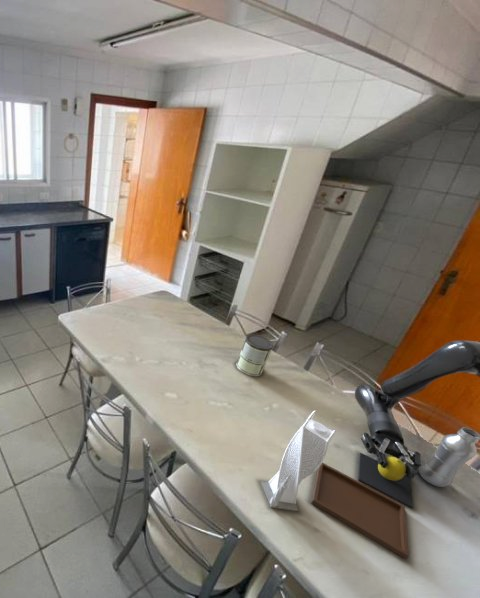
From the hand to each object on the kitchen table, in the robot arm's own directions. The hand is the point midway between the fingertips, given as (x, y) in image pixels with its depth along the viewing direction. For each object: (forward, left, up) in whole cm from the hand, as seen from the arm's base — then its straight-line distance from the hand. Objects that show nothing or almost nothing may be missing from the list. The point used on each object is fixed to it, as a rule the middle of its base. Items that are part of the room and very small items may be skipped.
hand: (397, 470), depth 92 cm
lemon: (0, -3, -6) cm, 7 cm away
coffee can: (+45, -28, -7) cm, 54 cm away
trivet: (0, -2, -7) cm, 7 cm away
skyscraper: (+23, +25, -7) cm, 35 cm away
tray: (+6, +14, -7) cm, 16 cm away
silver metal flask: (-11, -12, -7) cm, 18 cm away
